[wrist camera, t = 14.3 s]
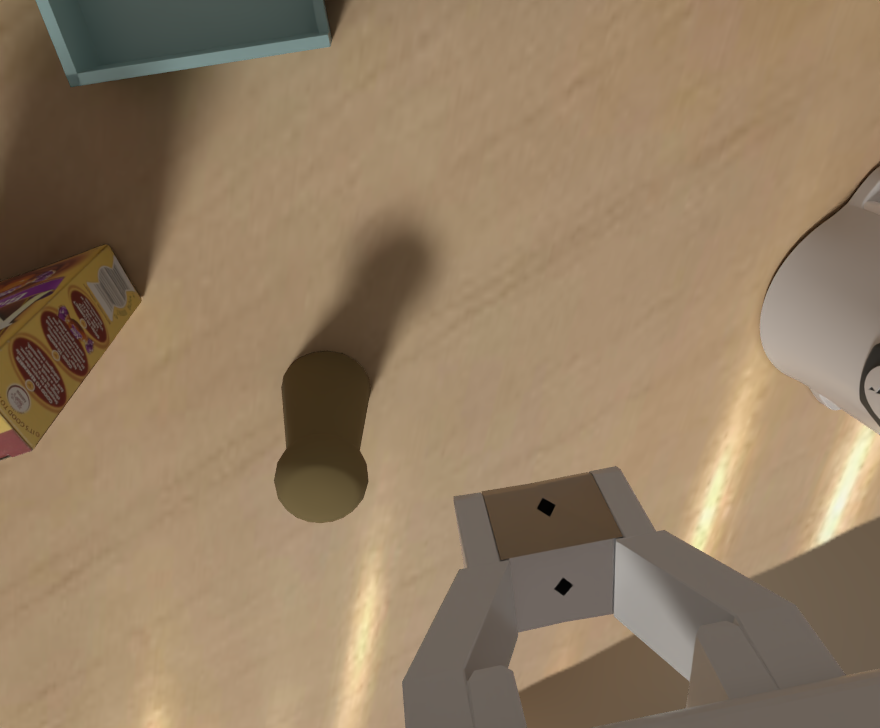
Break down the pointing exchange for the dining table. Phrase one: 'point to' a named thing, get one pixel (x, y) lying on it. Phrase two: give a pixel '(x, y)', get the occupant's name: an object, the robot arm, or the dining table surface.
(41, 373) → the candy box
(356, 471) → the cork
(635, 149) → the dining table surface
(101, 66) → the tray
